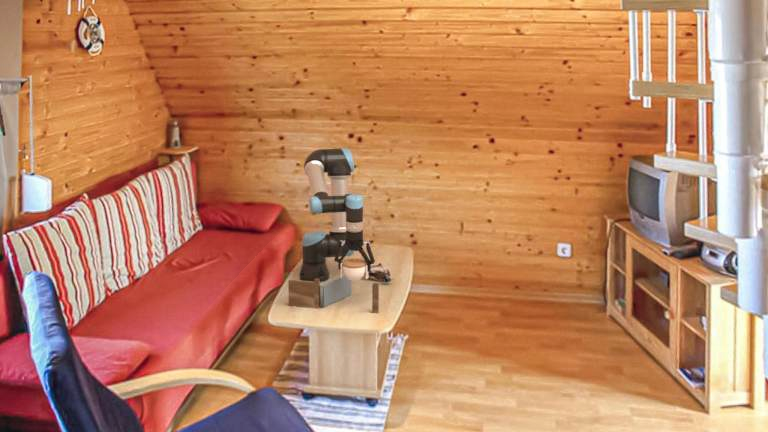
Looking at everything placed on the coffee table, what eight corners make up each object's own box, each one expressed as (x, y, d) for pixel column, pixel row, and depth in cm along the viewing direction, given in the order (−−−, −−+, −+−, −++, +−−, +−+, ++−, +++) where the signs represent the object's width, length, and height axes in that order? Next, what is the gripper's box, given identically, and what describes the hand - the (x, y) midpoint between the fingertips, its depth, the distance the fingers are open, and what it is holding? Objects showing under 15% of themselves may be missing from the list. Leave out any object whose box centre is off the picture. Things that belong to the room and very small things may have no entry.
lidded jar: (345, 283, 312) (345, 263, 309) (340, 275, 322) (340, 255, 319) (369, 281, 315) (369, 261, 312) (363, 273, 325) (363, 254, 322)
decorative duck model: (396, 273, 345) (365, 274, 342) (394, 287, 348) (365, 289, 344) (389, 261, 359) (360, 262, 355) (388, 275, 361) (359, 276, 358)
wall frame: (290, 304, 323) (289, 276, 319) (378, 311, 316) (378, 282, 312) (288, 306, 321) (288, 278, 317) (377, 313, 314) (378, 284, 310)
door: (319, 307, 319) (318, 286, 316) (348, 293, 336) (348, 273, 333) (321, 308, 318) (321, 287, 315) (351, 294, 335) (351, 274, 333)
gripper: (326, 230, 311) (327, 278, 316) (378, 233, 307) (378, 281, 312) (331, 226, 318) (331, 272, 324) (381, 229, 314) (381, 276, 320)
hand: (354, 277), depth 318 cm, fingers closed on lidded jar, 11 cm apart
